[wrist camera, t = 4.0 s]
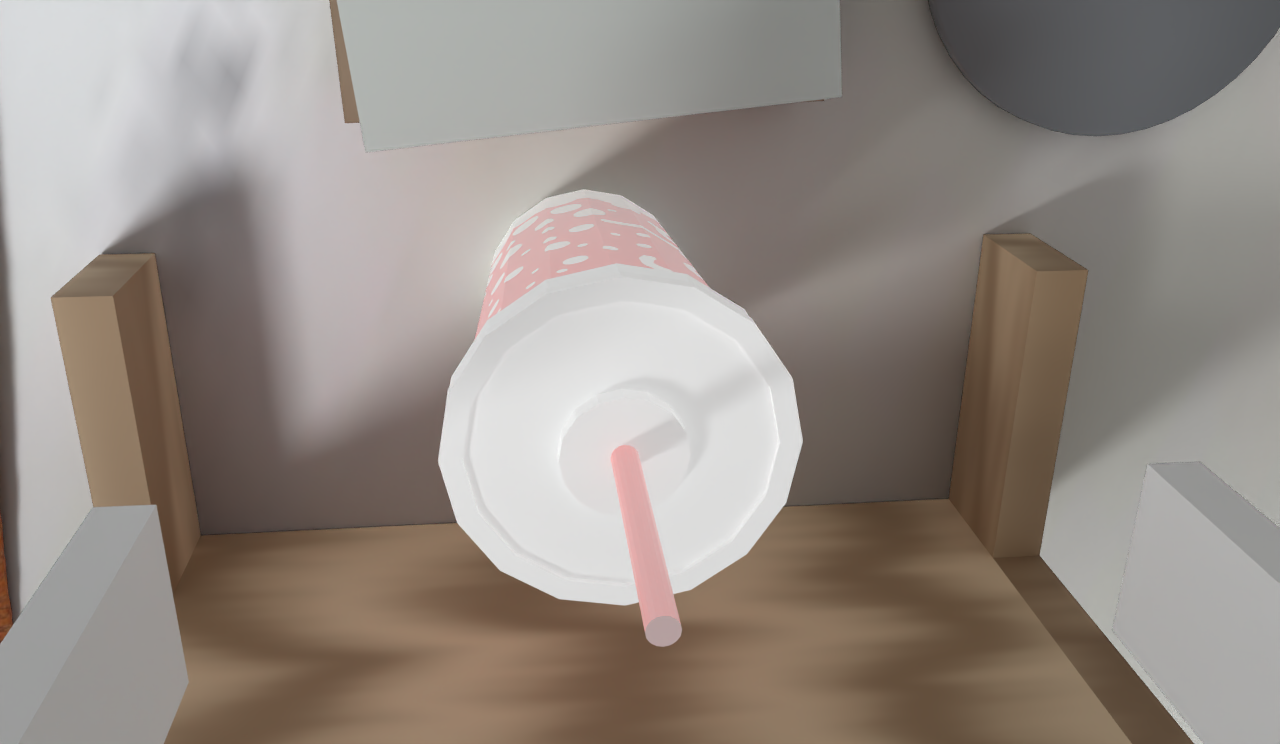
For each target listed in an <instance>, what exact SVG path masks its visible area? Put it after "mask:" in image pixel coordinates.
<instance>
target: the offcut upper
mask: <svg viewBox="0 0 1280 744" xmlns="http://www.w3.org/2000/svg"><path fill="white" fill-rule="evenodd" d="M337 5H338V10H339V15H340V21H341V26H342V31H343V36H344V42H345V47H346V52H347V57H348V63H349V68H350V73H351V78H352V84H353V89H354V94H355V100H356V105H357V110H358V115H359V121H360V126H361V131H362V136H363V142H364V147H365V152H375V151H383V150H392V149H401V148H409V147H418V146H426V145H435V144H443V143H452V142H461V141H469V140H478V139H486V138H495V137H504V136H512V135H521V134H529V133H538V132H547V131H555V130H564V129H572V128H581V127H590V126H598V125H607V124H615V123H624V122H633V121H641V120H650V119H658V118H667V117H676V116H684V115H693V114H701V113H710V112H719V111H727V110H736V109H744V108H753V107H761V106H770V105H779V104H787V103H796V102H804V101H813V100H822V99H830V98H839V97H842V72H841V27H840V0H337Z"/></svg>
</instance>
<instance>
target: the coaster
mask: <svg viewBox="0 0 1280 744" xmlns="http://www.w3.org/2000/svg"><path fill="white" fill-rule="evenodd" d="M928 2H929V6H930V11H931V14H932V16H933V19H934V22H935V25H936V28H937V31H938V34H939V36H940V38H941V40H942V42H943V44H944V45H945V47H946V49H947V51H948V53H949V55H950V57H951V58H952V60H953V61H954V63H955V64H956V65H957V67H958V68H959V70H960V71H961V72H962V74H963V75H964V76H965V77H966V79H967V80H968V81H969V82H970V83H971V84H972V85H973V86H974V87H975V88H976V89H977V90H978V91H979V92H980V93H981V94H982V95H984V96H985V97H986V98H988V99H989V100H990V101H992V102H993V103H994V104H995V105H997V106H998V107H1000V108H1002V109H1003V110H1005V111H1007V112H1009V113H1011V114H1012V115H1014V116H1016V117H1018V118H1020V119H1023V120H1025V121H1027V122H1030V123H1033V124H1035V125H1038V126H1041V127H1044V128H1046V129H1049V130H1052V131H1057V132H1062V133H1067V134H1072V135H1085V136H1106V135H1118V134H1125V133H1129V132H1134V131H1138V130H1143V129H1147V128H1150V127H1153V126H1155V125H1158V124H1161V123H1164V122H1167V121H1169V120H1172V119H1174V118H1176V117H1178V116H1180V115H1182V114H1184V113H1186V112H1188V111H1190V110H1192V109H1194V108H1195V107H1197V106H1198V105H1200V104H1201V103H1203V102H1205V101H1206V100H1208V99H1209V98H1211V97H1212V96H1214V95H1215V94H1217V93H1218V92H1219V91H1220V90H1222V89H1223V88H1224V87H1225V86H1227V85H1228V84H1229V83H1230V82H1232V81H1233V80H1234V79H1235V78H1236V77H1237V76H1238V75H1239V74H1240V73H1241V72H1243V71H1244V70H1245V69H1246V68H1247V67H1248V66H1249V65H1250V64H1251V63H1252V62H1253V61H1254V60H1255V59H1256V57H1257V56H1258V55H1259V54H1260V53H1261V51H1262V50H1263V49H1264V48H1265V46H1266V45H1267V44H1268V43H1269V42H1270V40H1271V39H1272V38H1273V37H1274V35H1275V34H1276V32H1277V31H1278V29H1279V28H1280V0H928Z"/></svg>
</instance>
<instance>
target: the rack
mask: <svg viewBox="0 0 1280 744" xmlns="http://www.w3.org/2000/svg"><path fill="white" fill-rule="evenodd" d="M1087 275H1088V270H1087V269H1086V268H1084V267H1083V266H1081V265H1079V264H1078V263H1076V262H1075V261H1073V260H1071V259H1070V258H1068V257H1067V256H1065V255H1064V254H1062V253H1060V252H1059V251H1057V250H1056V249H1054V248H1052V247H1051V246H1049V245H1048V244H1046V243H1044V242H1043V241H1041V240H1040V239H1038V238H1037V237H1035V236H1033V235H1032V234H1030V233H1028V234H984V235H983V242H982V250H981V257H980V265H979V272H978V280H977V287H976V295H975V303H974V310H973V318H972V325H971V333H970V340H969V348H968V356H967V363H966V371H965V378H964V386H963V393H962V401H961V409H960V416H959V424H958V431H957V439H956V446H955V454H954V462H953V469H952V477H951V484H950V492H949V499H933V500H912V501H892V502H872V503H851V504H831V505H811V506H790V507H783V508H782V509H781V510H780V512H779V513H778V514H777V515H776V517H775V518H774V519H773V521H772V522H771V523H770V525H769V526H768V527H767V529H766V530H765V531H764V532H763V534H762V535H761V536H760V538H759V539H758V540H757V542H756V543H755V544H754V546H753V547H752V548H751V550H750V551H749V552H748V553H747V554H746V555H745V556H743V557H742V558H740V559H739V560H737V561H735V562H734V563H732V564H731V565H729V566H728V567H726V568H724V569H723V570H721V571H720V572H718V573H717V574H715V575H713V576H712V577H710V578H709V579H707V580H706V581H704V582H702V583H701V584H699V585H698V586H696V587H695V588H693V589H691V590H688V591H684V592H680V593H676V594H673V595H674V599H675V603H676V607H677V611H678V615H679V619H680V623H681V627H682V633H681V636H680V638H679V639H678V640H677V641H676V642H675V643H673V644H672V645H669V646H665V647H660V646H655V645H653V644H651V643H650V642H649V641H648V640H647V639H646V635H645V630H644V625H643V620H642V615H641V610H640V605H639V602H638V603H634V604H630V605H626V606H624V605H614V604H604V603H594V602H583V601H573V600H563V599H558V598H556V597H553V596H551V595H549V594H547V593H545V592H543V591H541V590H539V589H537V588H535V587H533V586H531V585H529V584H526V583H524V582H522V581H520V580H518V579H516V578H514V577H512V576H510V575H508V574H506V573H504V572H502V571H500V570H499V569H498V568H497V567H496V566H495V565H494V563H493V562H492V561H491V560H490V559H489V558H488V557H487V556H486V555H485V553H484V552H483V551H482V550H481V549H480V548H479V547H478V546H477V545H476V543H475V542H474V541H473V540H472V539H471V538H470V537H469V536H468V535H467V533H466V532H465V531H464V530H463V529H462V528H461V527H460V526H459V525H458V523H445V524H424V525H404V526H383V527H363V528H343V529H322V530H302V531H282V532H261V533H241V534H221V535H201V533H200V527H199V521H198V515H197V509H196V503H195V497H194V490H193V484H192V478H191V472H190V466H189V460H188V454H187V448H186V442H185V435H184V429H183V423H182V417H181V411H180V405H179V399H178V393H177V386H176V380H175V374H174V368H173V362H172V356H171V350H170V344H169V338H168V331H167V325H166V319H165V313H164V307H163V301H162V295H161V289H160V282H159V276H158V270H157V264H156V258H155V253H146V254H102V255H98V256H97V257H96V258H95V259H94V260H93V261H92V262H90V263H89V264H88V265H87V266H86V267H85V268H84V269H83V270H81V271H80V272H79V273H78V274H77V275H76V276H75V277H74V278H72V279H71V280H70V281H69V282H68V283H67V284H66V285H64V286H63V287H62V288H61V289H60V290H59V291H58V292H57V293H55V294H54V295H53V296H52V297H51V301H52V306H53V311H54V316H55V321H56V326H57V331H58V336H59V341H60V346H61V351H62V355H63V360H64V365H65V370H66V375H67V380H68V385H69V390H70V395H71V400H72V404H73V409H74V414H75V419H76V424H77V429H78V434H79V439H80V444H81V449H82V453H83V458H84V463H85V468H86V473H87V478H88V483H89V488H90V493H91V498H92V503H93V507H112V506H136V505H157V511H158V516H159V522H160V527H161V533H162V538H163V543H164V549H165V554H166V560H167V565H168V571H169V576H170V582H171V587H172V593H173V598H174V604H175V609H176V615H177V620H178V625H179V631H180V636H181V642H182V647H183V653H184V658H185V664H186V669H187V675H188V680H189V683H188V685H187V688H186V690H185V693H184V695H183V698H182V700H181V703H180V705H179V707H178V710H177V712H176V715H175V717H174V720H173V722H172V725H171V727H170V729H169V732H168V734H167V737H166V739H165V742H164V744H1194V743H1193V742H1192V741H1191V739H1190V738H1189V737H1188V736H1187V734H1186V733H1185V732H1184V731H1183V730H1182V728H1181V727H1180V726H1179V725H1178V724H1177V722H1176V721H1175V720H1174V719H1173V717H1172V716H1171V715H1170V714H1169V713H1168V711H1167V710H1166V709H1165V708H1164V706H1163V705H1162V704H1161V703H1160V702H1159V700H1158V699H1157V698H1156V697H1155V696H1154V694H1153V693H1152V692H1151V691H1150V689H1149V688H1148V687H1147V686H1146V685H1145V683H1144V682H1143V681H1142V680H1141V679H1140V677H1139V676H1138V675H1137V674H1136V672H1135V671H1134V670H1133V669H1132V668H1131V666H1130V665H1129V664H1128V663H1127V661H1126V660H1125V659H1124V658H1123V657H1122V655H1121V654H1120V653H1119V652H1118V651H1117V649H1116V648H1115V647H1114V646H1113V644H1112V643H1111V642H1110V641H1109V640H1108V638H1107V637H1106V636H1105V635H1104V633H1103V632H1102V631H1101V630H1100V629H1099V627H1098V626H1097V625H1096V624H1095V623H1094V621H1093V620H1092V619H1091V618H1090V616H1089V615H1088V614H1087V613H1086V612H1085V610H1084V609H1083V608H1082V607H1081V606H1080V604H1079V603H1078V602H1077V601H1076V599H1075V598H1074V597H1073V596H1072V595H1071V593H1070V592H1069V591H1068V590H1067V588H1066V587H1065V586H1064V585H1063V584H1062V582H1061V581H1060V580H1059V579H1058V578H1057V576H1056V575H1055V574H1054V573H1053V571H1052V570H1051V569H1050V568H1049V567H1048V565H1047V564H1046V563H1045V562H1044V561H1043V559H1042V558H1041V557H1040V556H1039V555H1040V549H1041V543H1042V537H1043V531H1044V526H1045V520H1046V514H1047V508H1048V502H1049V496H1050V491H1051V485H1052V479H1053V473H1054V467H1055V461H1056V456H1057V450H1058V444H1059V438H1060V432H1061V426H1062V421H1063V415H1064V409H1065V403H1066V397H1067V391H1068V386H1069V380H1070V374H1071V368H1072V362H1073V356H1074V351H1075V345H1076V339H1077V333H1078V327H1079V321H1080V316H1081V310H1082V304H1083V298H1084V292H1085V286H1086V281H1087Z"/></svg>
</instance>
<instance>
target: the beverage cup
mask: <svg viewBox="0 0 1280 744" xmlns="http://www.w3.org/2000/svg"><path fill="white" fill-rule="evenodd" d="M802 443H803V439H802V433H801V427H800V420H799V414H798V408H797V402H796V396H795V390H794V383H793V378H792V377H791V375H790V373H789V372H788V370H787V369H786V367H785V366H784V364H783V363H782V361H781V360H780V359H779V357H778V356H777V354H776V353H775V351H774V350H773V348H772V347H771V345H770V344H769V343H768V341H767V340H766V338H765V337H764V335H763V334H762V332H761V331H760V329H759V328H758V326H757V325H756V324H755V322H754V321H753V319H752V318H751V317H749V315H748V314H747V312H746V311H745V309H744V308H742V307H740V306H739V305H737V304H735V303H734V302H732V301H730V300H729V299H727V298H725V297H724V296H722V295H721V294H719V293H717V292H716V291H714V290H712V289H711V288H710V287H709V286H708V285H707V284H706V282H705V281H704V280H703V278H702V277H701V276H700V275H699V273H698V272H697V271H696V270H695V268H694V267H693V266H692V264H691V263H690V262H689V261H688V259H687V258H686V257H685V255H684V254H683V253H682V252H681V250H680V249H679V248H678V246H677V245H676V244H675V243H674V241H673V240H672V239H671V237H670V236H669V235H668V234H667V232H666V231H665V230H664V228H663V227H662V226H661V225H660V223H659V222H658V221H657V219H656V218H655V217H654V216H653V215H652V214H651V213H649V212H647V211H646V210H644V209H643V208H641V207H639V206H638V205H636V204H634V203H633V202H631V201H630V200H628V199H626V198H625V197H623V196H622V195H616V194H610V193H604V192H598V191H591V190H585V189H583V190H578V191H574V192H569V193H565V194H561V195H556V196H552V197H548V198H545V199H544V200H542V201H541V202H539V203H538V204H537V205H535V206H534V207H532V208H531V209H530V210H528V211H527V212H525V213H524V214H522V215H521V216H520V217H518V218H517V219H515V220H514V222H513V224H512V225H511V227H510V228H509V230H508V232H507V233H506V235H505V236H504V238H503V240H502V241H501V243H500V244H499V246H498V248H497V249H496V251H495V254H494V258H493V262H492V267H491V271H490V275H489V280H488V284H487V288H486V293H485V297H484V301H483V305H482V310H481V314H480V318H479V323H478V327H477V331H476V336H475V340H474V342H473V343H472V345H471V347H470V348H469V350H468V351H467V353H466V354H465V356H464V358H463V359H462V361H461V362H460V364H459V365H458V367H457V369H456V370H455V372H454V373H453V375H452V377H451V381H450V387H449V388H448V392H447V399H446V407H445V414H444V421H443V428H442V435H441V442H440V449H439V457H438V464H439V467H440V470H441V473H442V476H443V480H444V483H445V486H446V489H447V492H448V495H449V499H450V502H451V505H452V508H453V511H454V515H455V518H456V521H457V523H458V525H459V526H460V527H461V528H462V529H463V530H464V531H465V532H466V533H467V535H468V536H469V537H470V538H471V539H472V540H473V541H474V542H475V543H476V545H477V546H478V547H479V548H480V549H481V550H482V551H483V552H484V553H485V555H486V556H487V557H488V558H489V559H490V560H491V561H492V562H493V563H494V565H495V566H496V567H497V568H498V569H499V570H500V571H502V572H504V573H506V574H508V575H510V576H512V577H514V578H516V579H518V580H520V581H522V582H524V583H526V584H529V585H531V586H533V587H535V588H537V589H539V590H541V591H543V592H545V593H547V594H549V595H551V596H553V597H556V598H558V599H563V600H573V601H583V602H594V603H604V604H614V605H624V606H626V605H630V604H634V603H638V602H639V605H640V610H641V615H642V620H643V625H644V630H645V635H646V639H647V640H648V641H649V642H650V643H651V644H653V645H655V646H660V647H665V646H669V645H672V644H673V643H675V642H676V641H677V640H678V639H679V638H680V636H681V633H682V627H681V623H680V619H679V615H678V611H677V607H676V603H675V599H674V595H673V594H676V593H680V592H684V591H688V590H691V589H693V588H695V587H696V586H698V585H699V584H701V583H702V582H704V581H706V580H707V579H709V578H710V577H712V576H713V575H715V574H717V573H718V572H720V571H721V570H723V569H724V568H726V567H728V566H729V565H731V564H732V563H734V562H735V561H737V560H739V559H740V558H742V557H743V556H745V555H746V554H747V553H748V552H749V551H750V550H751V548H752V547H753V546H754V544H755V543H756V542H757V540H758V539H759V538H760V536H761V535H762V534H763V532H764V531H765V530H766V529H767V527H768V526H769V525H770V523H771V522H772V521H773V519H774V518H775V517H776V515H777V514H778V513H779V512H780V510H781V509H782V508H783V506H784V505H785V504H786V502H787V498H788V494H789V491H790V487H791V483H792V480H793V476H794V472H795V469H796V465H797V461H798V458H799V454H800V450H801V446H802Z"/></svg>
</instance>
